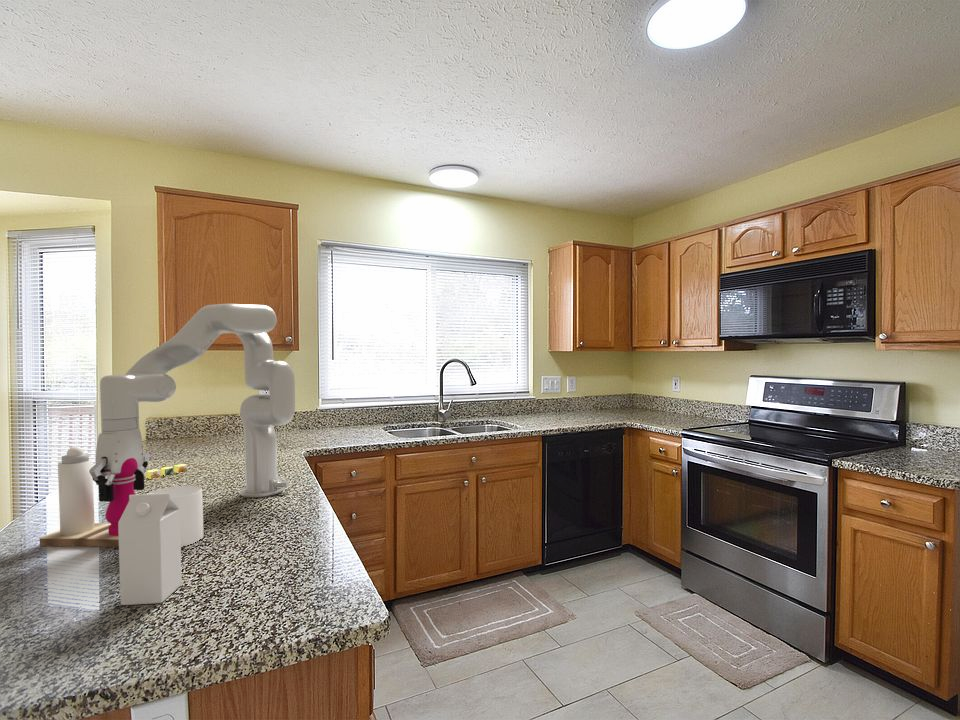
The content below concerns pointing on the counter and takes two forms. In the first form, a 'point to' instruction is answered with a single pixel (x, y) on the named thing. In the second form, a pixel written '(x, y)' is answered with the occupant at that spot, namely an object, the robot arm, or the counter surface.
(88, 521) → the salt mill
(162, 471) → the stock cubes
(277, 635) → the counter surface
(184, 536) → the cup
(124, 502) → the pepper mill
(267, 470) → the robot arm
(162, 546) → the milk carton
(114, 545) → the wooden divided tray
